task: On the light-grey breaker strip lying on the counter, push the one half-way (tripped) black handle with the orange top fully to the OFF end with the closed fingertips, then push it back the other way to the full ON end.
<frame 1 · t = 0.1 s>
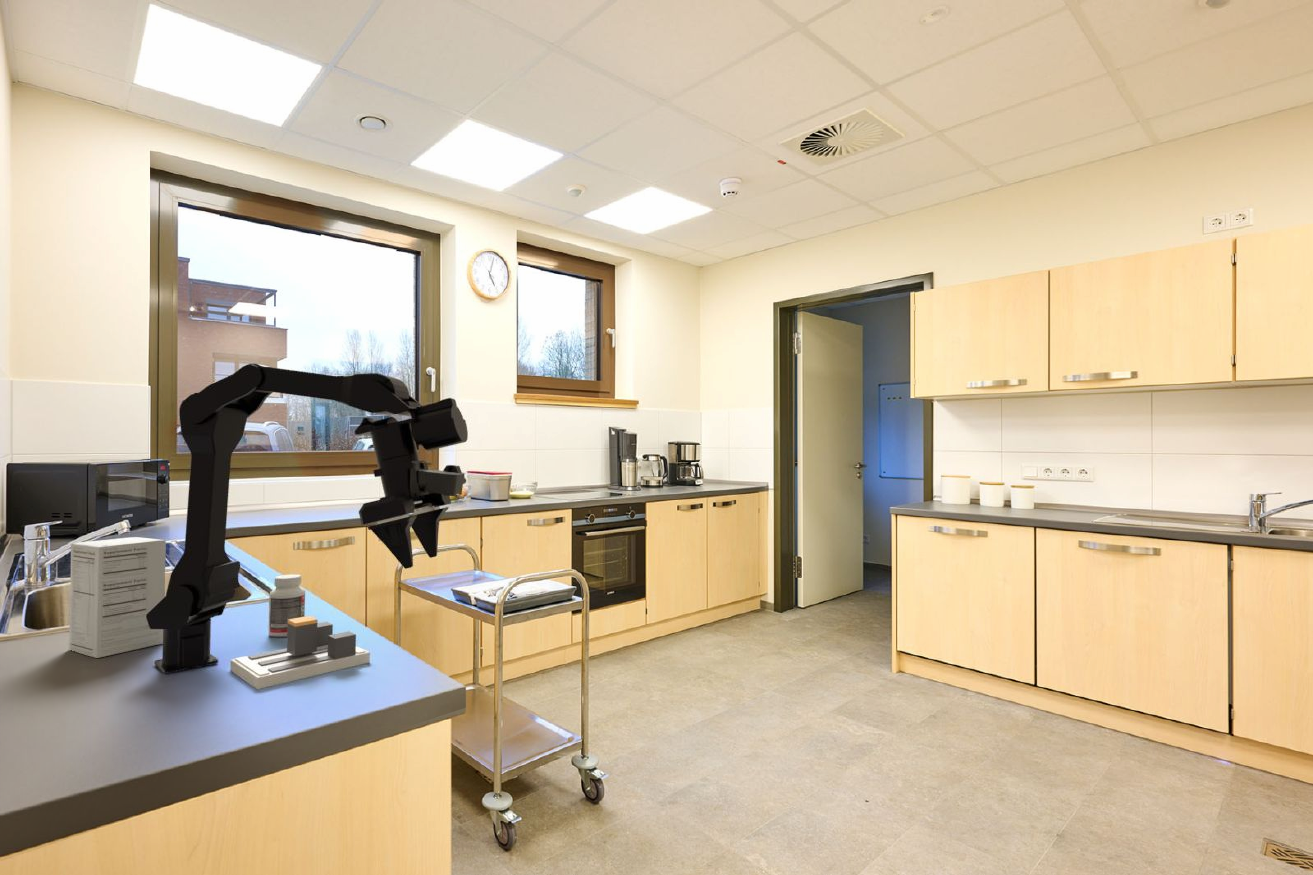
hand: (421, 562, 95), 15 cm above the counter, tool pointing down, fingers open, 9 cm apart
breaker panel: (301, 666, 95), on the counter
tripped breaker handle: (302, 635, 95), point 4 cm above the counter, slide at 4.0 cm
pill bottle: (286, 634, 112), on the counter
supplement box: (117, 648, 104), on the counter
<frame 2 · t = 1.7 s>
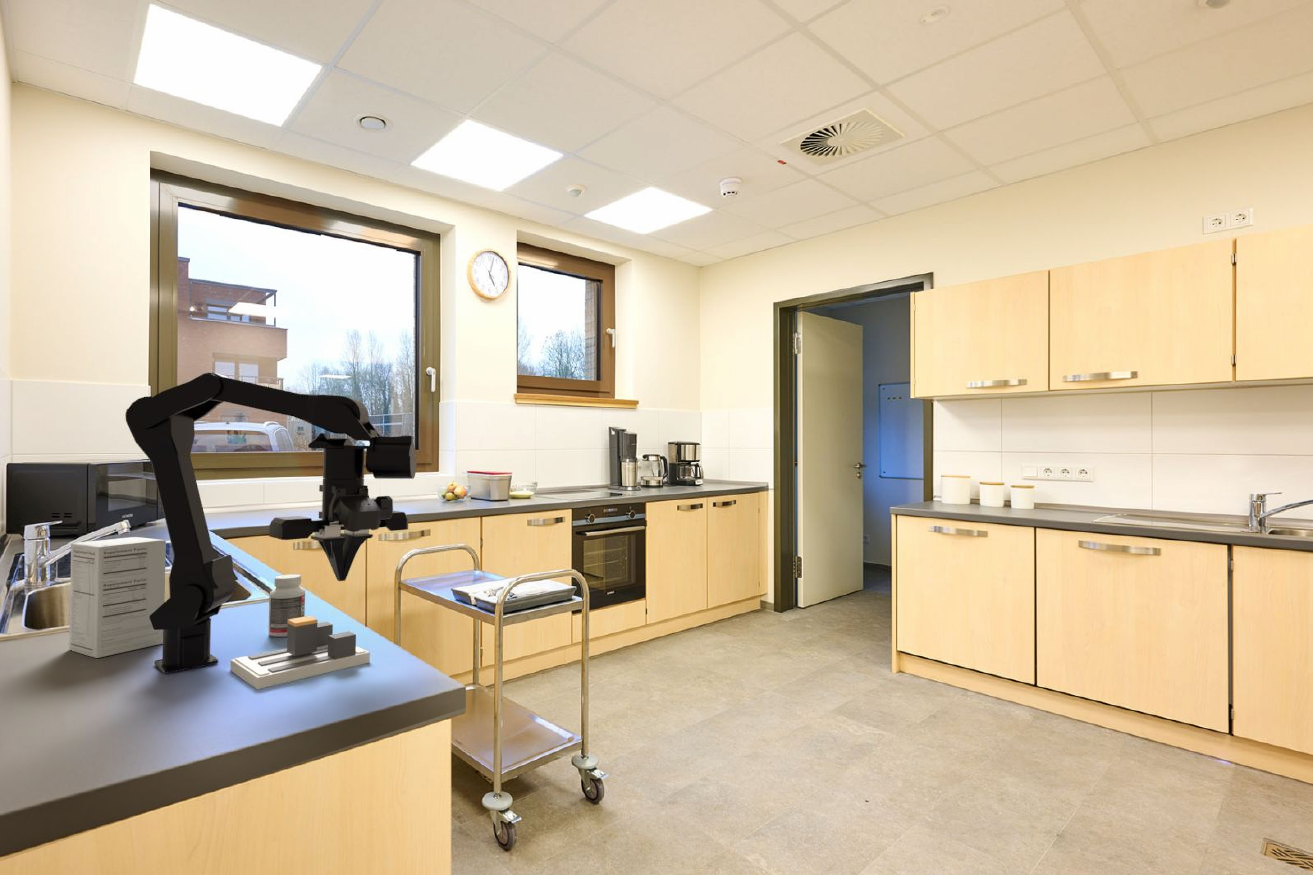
hand: (341, 580, 100), 12 cm above the counter, tool pointing down, fingers closed
nothing on the counter moved.
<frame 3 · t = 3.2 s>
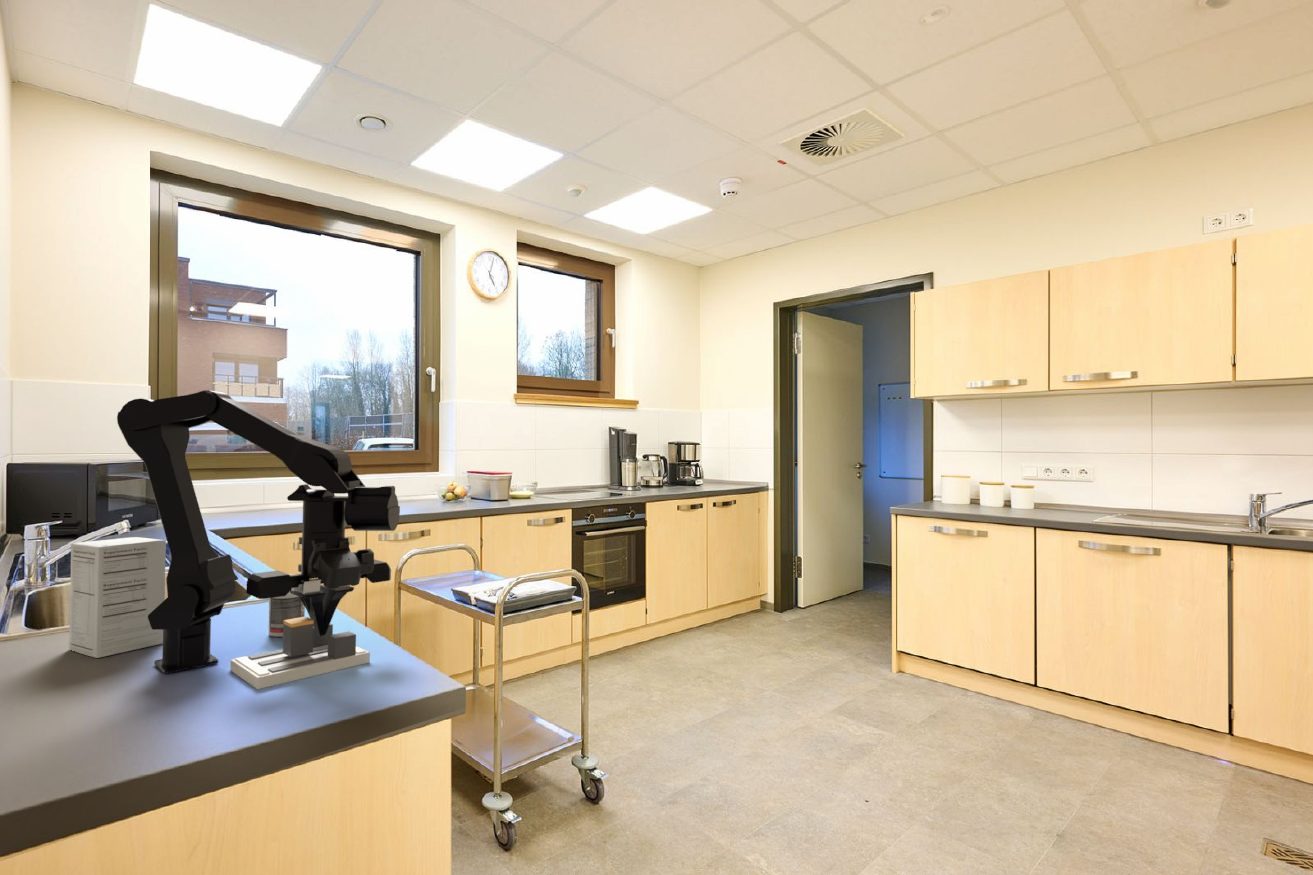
hand: (321, 635, 97), 4 cm above the counter, tool pointing down, fingers closed
tripped breaker handle: (298, 636, 95), point 4 cm above the counter, slide at 3.4 cm, touching gripper
everything else where it was.
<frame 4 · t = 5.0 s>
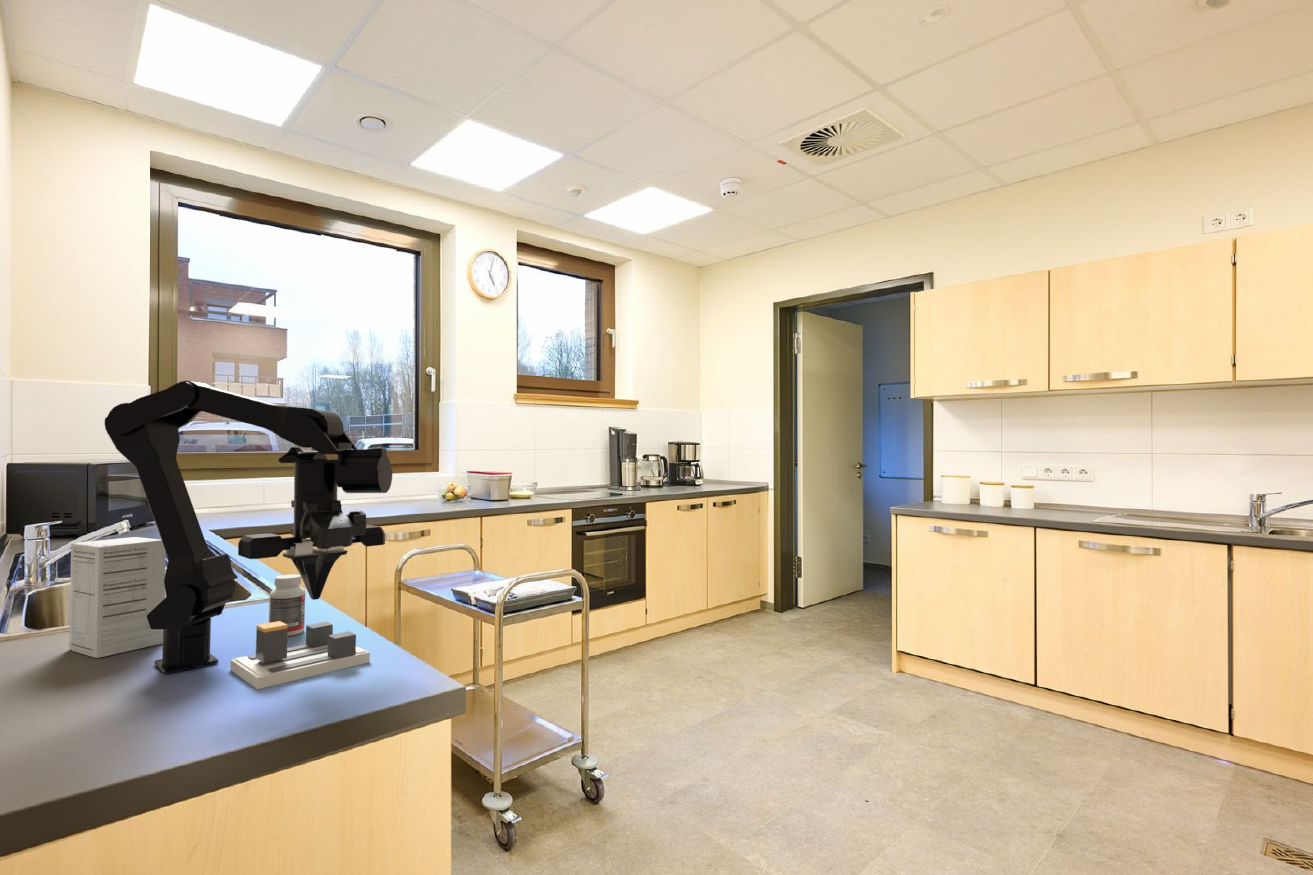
hand: (315, 599, 96), 10 cm above the counter, tool pointing down, fingers closed
tripped breaker handle: (271, 641, 92), point 4 cm above the counter, slide at -0.1 cm
everything else where it was.
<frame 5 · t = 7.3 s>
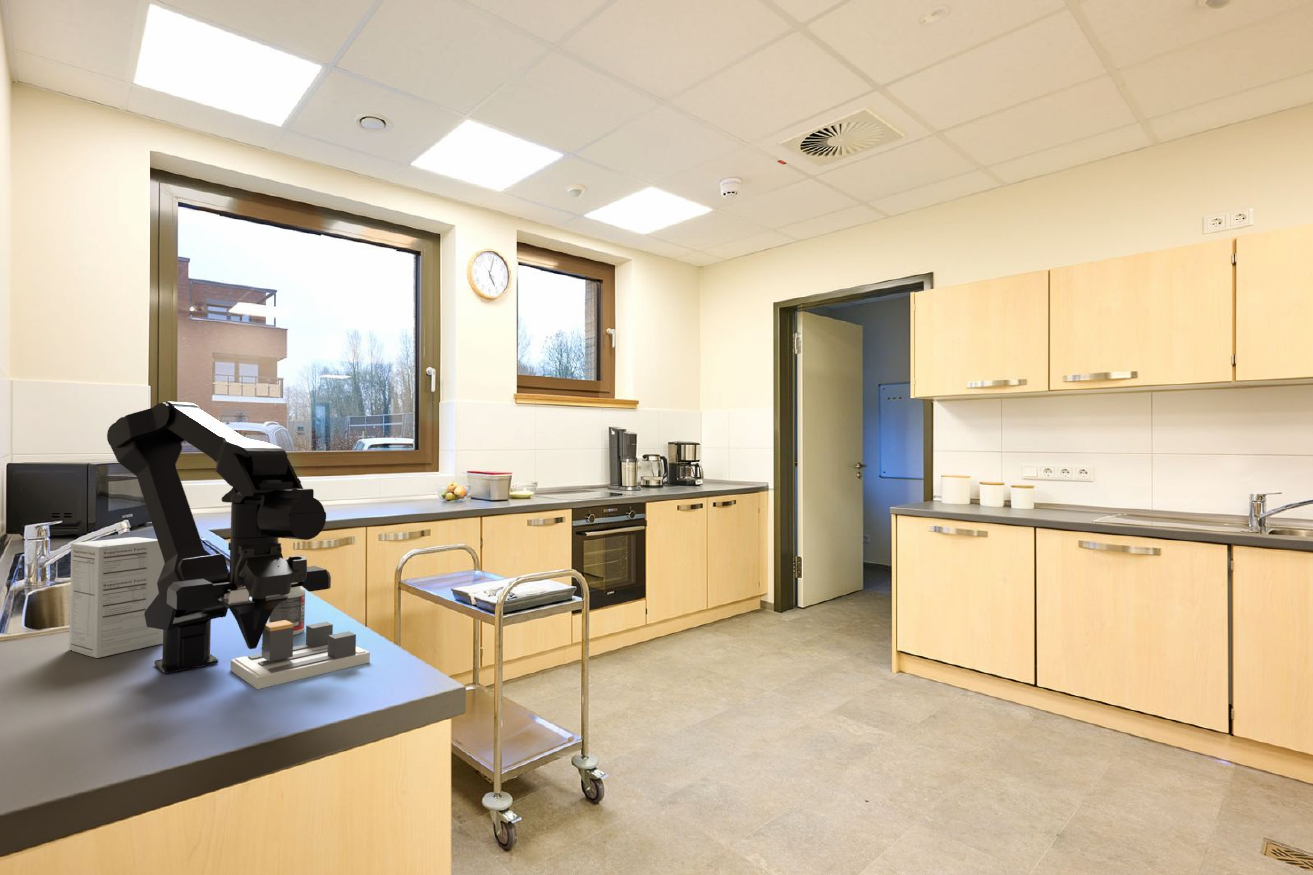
hand: (252, 648, 90), 4 cm above the counter, tool pointing down, fingers closed
tripped breaker handle: (277, 640, 93), point 4 cm above the counter, slide at 0.7 cm, touching gripper
everything else where it was.
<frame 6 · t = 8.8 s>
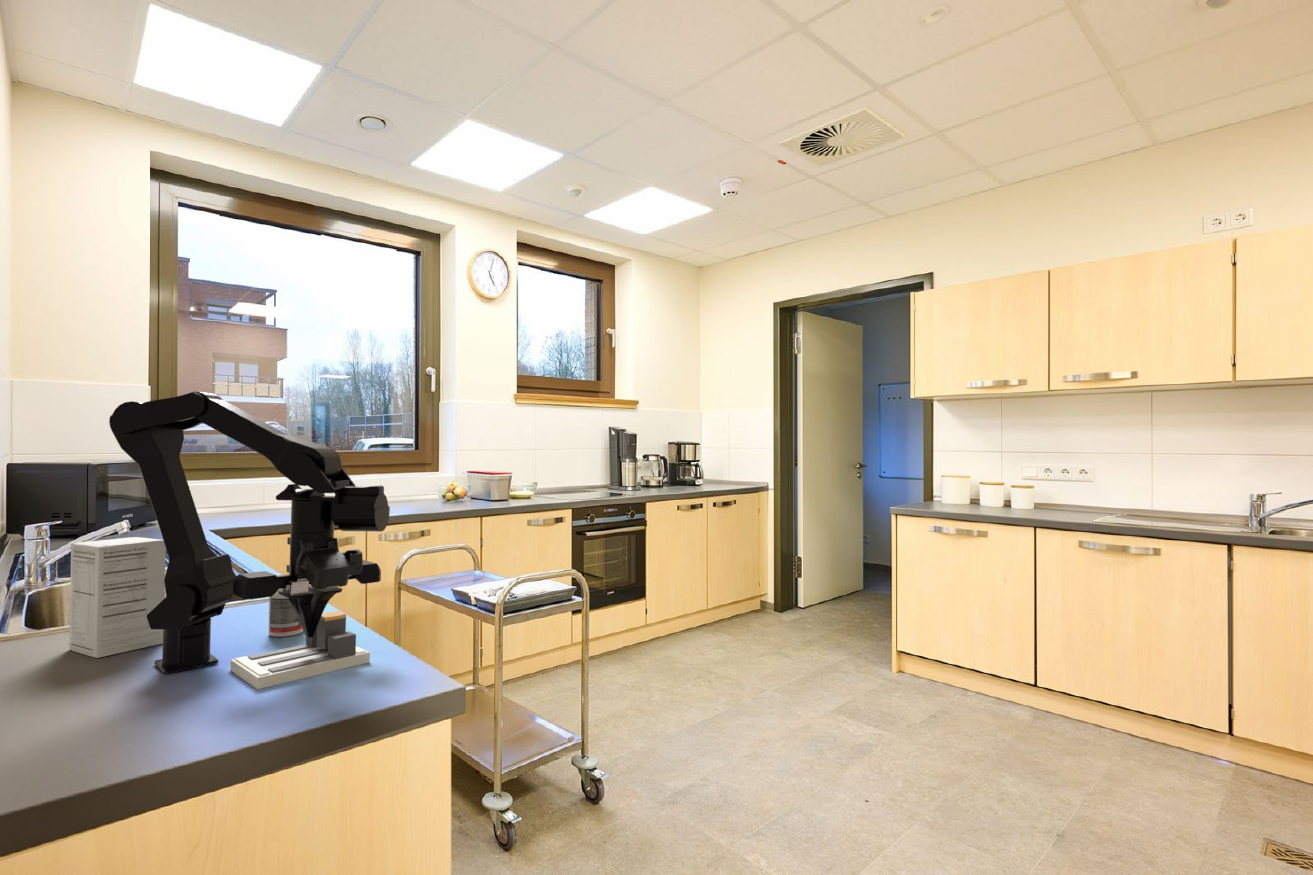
hand: (309, 637, 96), 4 cm above the counter, tool pointing down, fingers closed
tripped breaker handle: (331, 630, 98), point 4 cm above the counter, slide at 8.1 cm, touching gripper
everything else where it was.
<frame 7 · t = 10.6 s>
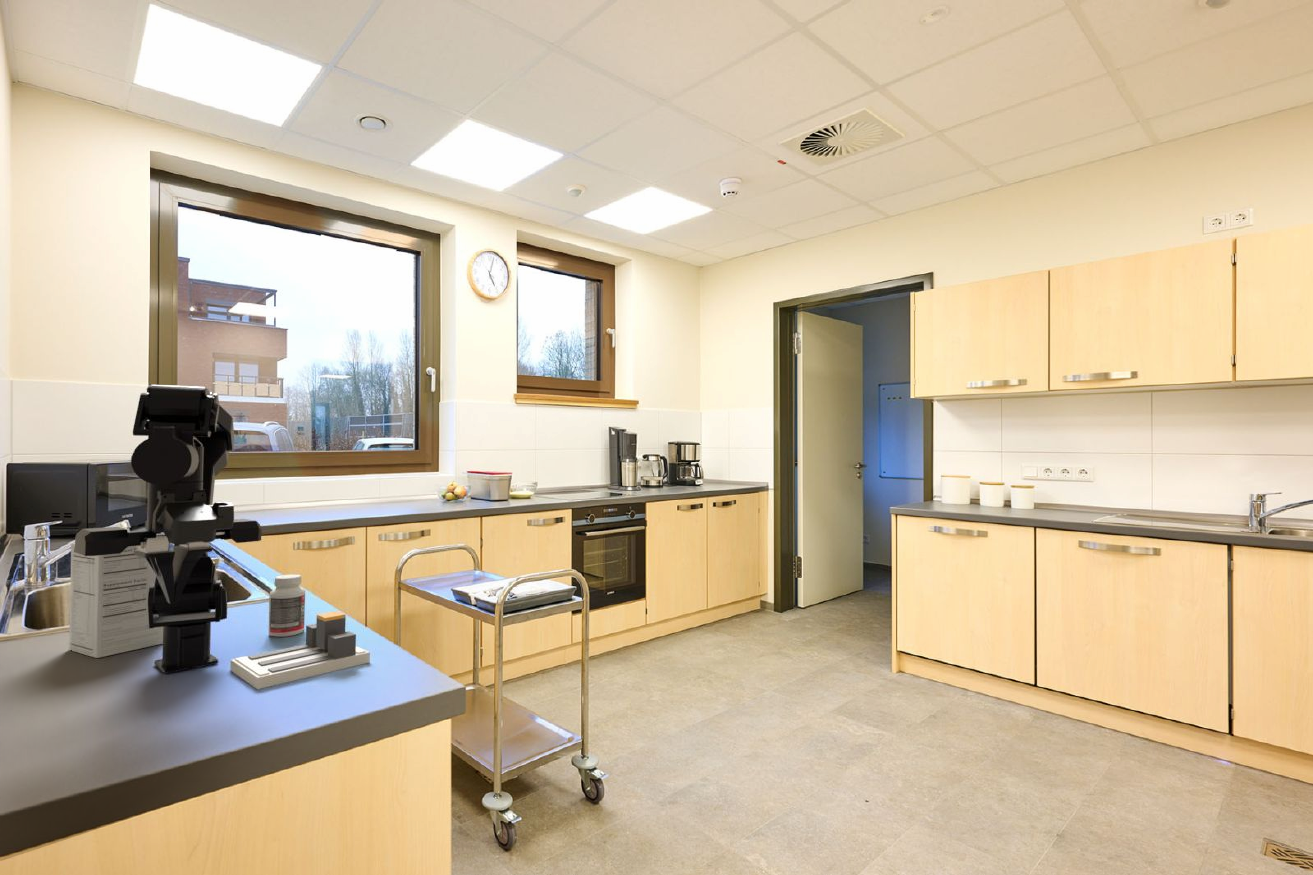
hand: (172, 602, 84), 12 cm above the counter, tool pointing down, fingers closed
tripped breaker handle: (330, 630, 98), point 4 cm above the counter, slide at 8.1 cm
everything else where it was.
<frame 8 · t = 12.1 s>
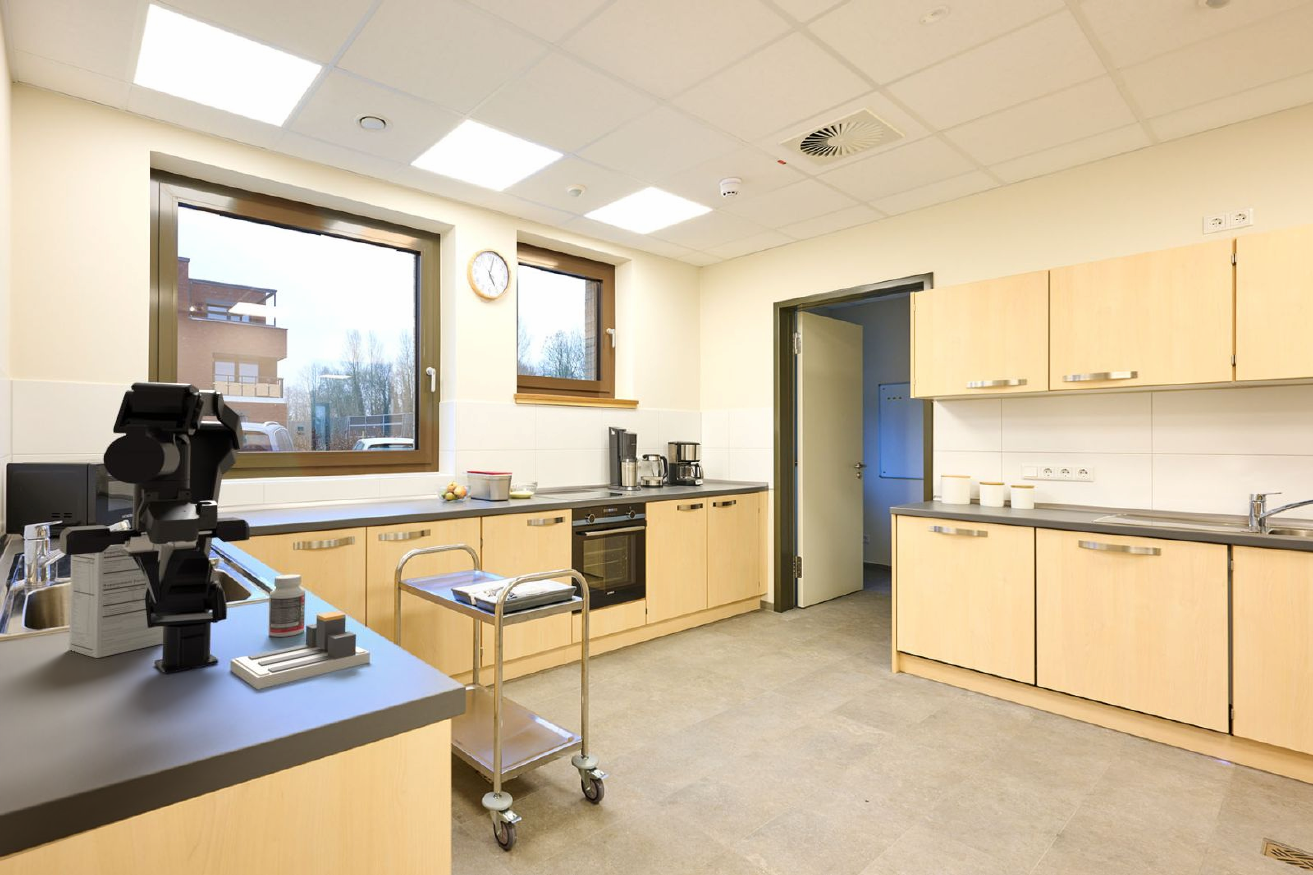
hand: (158, 602, 83), 12 cm above the counter, tool pointing down, fingers closed
nothing on the counter moved.
at the end: tripped breaker handle slide at 8.1 cm; the gripper is holding nothing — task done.
